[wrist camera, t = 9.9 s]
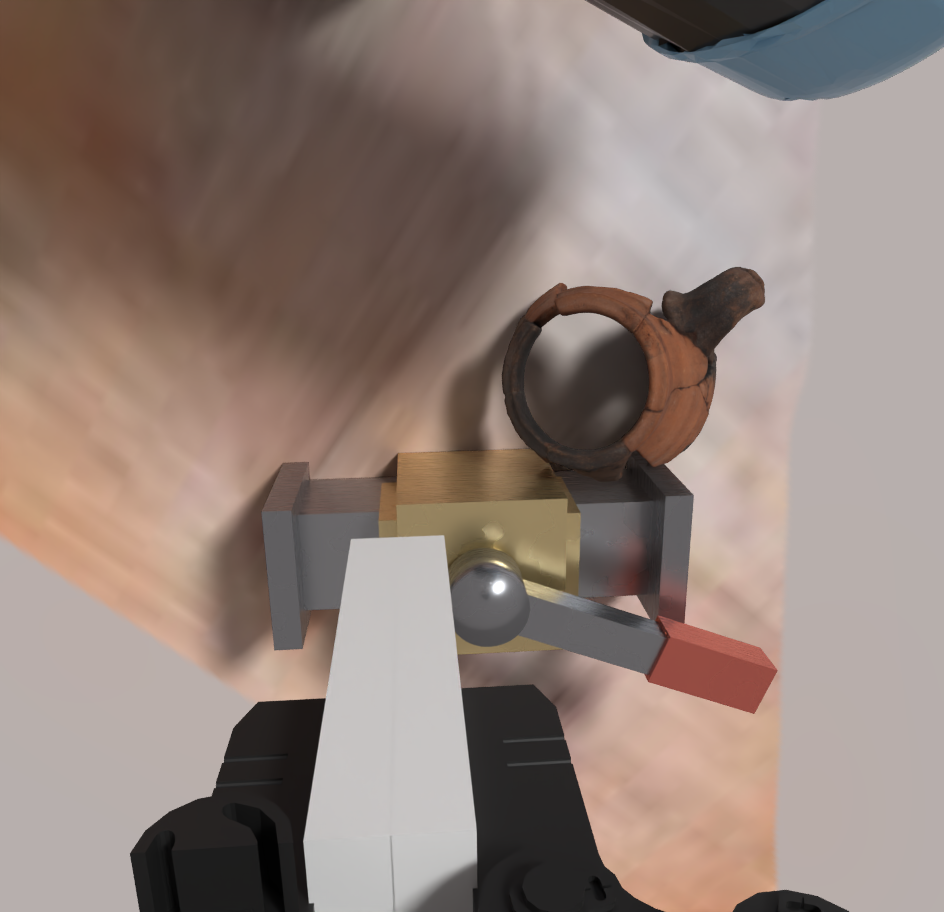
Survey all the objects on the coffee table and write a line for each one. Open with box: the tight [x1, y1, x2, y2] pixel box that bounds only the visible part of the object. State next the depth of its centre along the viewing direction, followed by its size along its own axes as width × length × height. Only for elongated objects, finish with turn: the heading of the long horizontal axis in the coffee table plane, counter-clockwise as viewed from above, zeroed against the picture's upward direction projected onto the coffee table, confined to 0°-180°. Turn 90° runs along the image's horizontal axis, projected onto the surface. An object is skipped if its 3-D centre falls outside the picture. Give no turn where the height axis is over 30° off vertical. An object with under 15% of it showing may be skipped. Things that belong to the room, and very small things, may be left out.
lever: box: [448, 548, 778, 714], centre depth 35 cm, size 14×3×2 cm, turn 69°
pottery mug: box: [502, 267, 765, 482], centre depth 37 cm, size 12×9×8 cm
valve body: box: [261, 449, 694, 655], centre depth 38 cm, size 7×18×7 cm, turn 91°
